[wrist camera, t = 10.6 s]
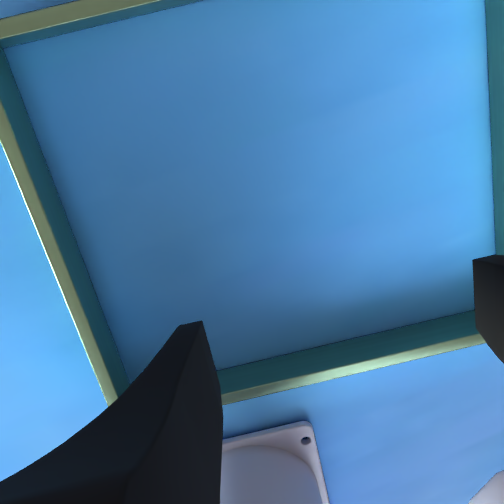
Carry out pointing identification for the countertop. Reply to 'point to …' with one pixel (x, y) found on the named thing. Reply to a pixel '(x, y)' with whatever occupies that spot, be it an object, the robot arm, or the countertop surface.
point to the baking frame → (76, 276)
